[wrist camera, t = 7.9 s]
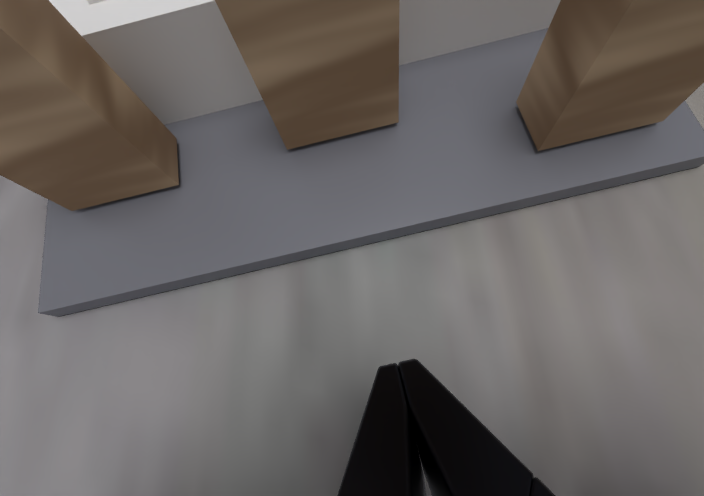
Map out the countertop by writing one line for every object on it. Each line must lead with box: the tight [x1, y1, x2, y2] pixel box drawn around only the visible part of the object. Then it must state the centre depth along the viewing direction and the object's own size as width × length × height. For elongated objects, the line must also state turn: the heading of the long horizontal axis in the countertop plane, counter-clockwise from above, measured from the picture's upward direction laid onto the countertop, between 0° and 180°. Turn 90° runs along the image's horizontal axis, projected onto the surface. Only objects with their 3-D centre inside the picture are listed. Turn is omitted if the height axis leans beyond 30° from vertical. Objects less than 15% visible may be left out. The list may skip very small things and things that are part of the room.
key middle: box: [215, 0, 399, 150], centre depth 13 cm, size 2×5×8 cm, turn 102°
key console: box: [38, 0, 704, 317], centre depth 16 cm, size 18×28×6 cm, turn 102°
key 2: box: [0, 0, 179, 211], centre depth 13 cm, size 2×5×8 cm, turn 102°
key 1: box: [516, 0, 704, 151], centre depth 11 cm, size 2×5×8 cm, turn 102°
